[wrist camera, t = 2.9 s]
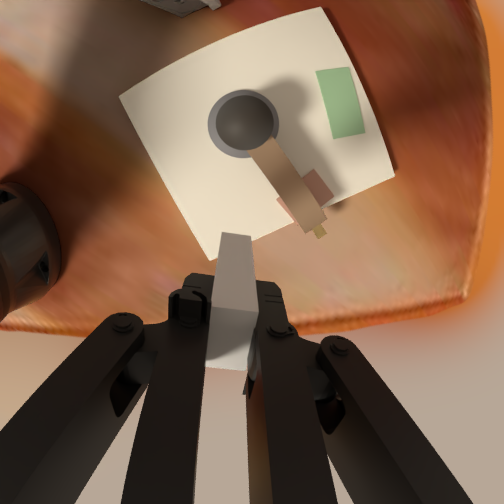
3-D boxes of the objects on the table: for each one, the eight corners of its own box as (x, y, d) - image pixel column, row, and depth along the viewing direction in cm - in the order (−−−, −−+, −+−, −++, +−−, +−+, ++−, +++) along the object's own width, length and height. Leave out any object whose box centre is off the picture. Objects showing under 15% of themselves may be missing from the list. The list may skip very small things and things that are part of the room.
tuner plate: (212, 259, 29) (211, 265, 28) (123, 97, 22) (116, 96, 21) (390, 177, 26) (397, 180, 25) (317, 10, 19) (321, 5, 18)
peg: (209, 119, 22) (204, 117, 18) (248, 92, 21) (251, 84, 17) (299, 240, 27) (309, 260, 23) (334, 216, 26) (350, 233, 22)
